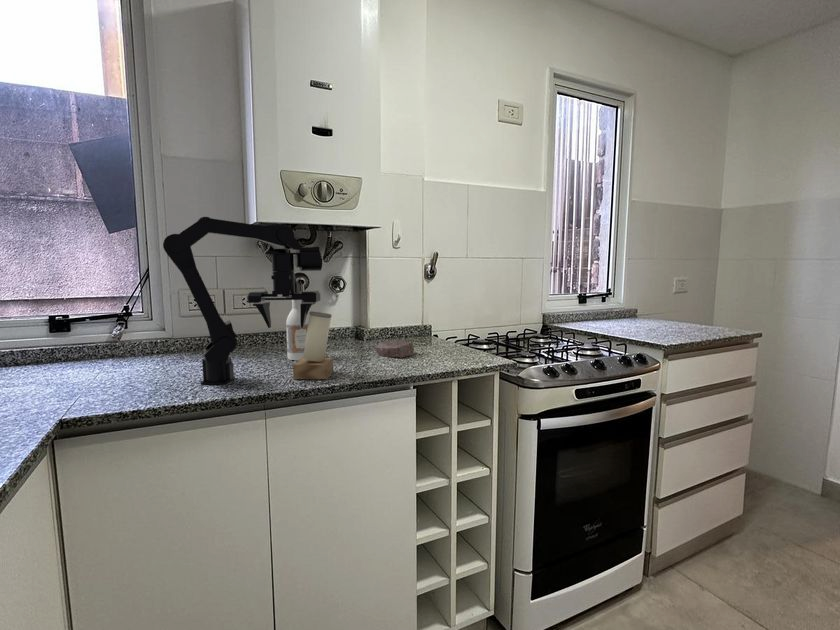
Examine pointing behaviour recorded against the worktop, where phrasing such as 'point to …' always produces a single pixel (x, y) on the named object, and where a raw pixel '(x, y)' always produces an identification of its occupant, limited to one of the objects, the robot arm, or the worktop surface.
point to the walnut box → (313, 369)
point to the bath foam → (295, 333)
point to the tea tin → (317, 336)
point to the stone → (395, 349)
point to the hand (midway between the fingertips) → (286, 327)
